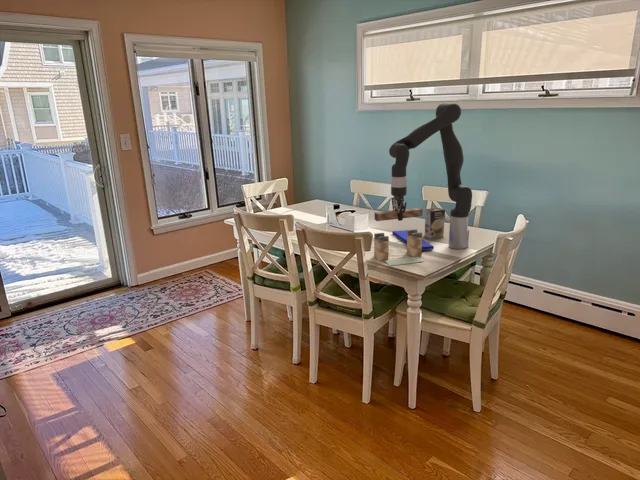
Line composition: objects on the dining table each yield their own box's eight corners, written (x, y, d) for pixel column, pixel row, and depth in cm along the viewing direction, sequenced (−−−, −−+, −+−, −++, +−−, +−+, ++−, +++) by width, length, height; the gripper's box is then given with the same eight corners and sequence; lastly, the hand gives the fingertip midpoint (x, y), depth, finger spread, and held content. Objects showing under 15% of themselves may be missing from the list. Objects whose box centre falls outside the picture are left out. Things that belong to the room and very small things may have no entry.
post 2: (415, 251, 233) (416, 229, 229) (421, 256, 227) (422, 232, 223) (406, 252, 232) (407, 230, 228) (412, 257, 226) (413, 233, 222)
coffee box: (430, 238, 253) (431, 211, 249) (424, 235, 259) (425, 209, 254) (444, 236, 256) (445, 209, 251) (437, 233, 262) (439, 207, 257)
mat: (417, 257, 225) (417, 256, 225) (424, 261, 219) (424, 261, 219) (384, 261, 221) (384, 260, 221) (389, 266, 215) (389, 265, 215)
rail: (419, 214, 225) (419, 207, 224) (422, 216, 222) (422, 209, 221) (374, 219, 220) (374, 212, 219) (377, 221, 217) (377, 214, 216)
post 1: (383, 255, 229) (383, 232, 226) (388, 260, 223) (388, 236, 219) (374, 256, 228) (374, 233, 225) (379, 261, 222) (379, 237, 218)
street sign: (415, 252, 233) (433, 250, 235) (416, 247, 232) (433, 245, 234) (392, 234, 265) (408, 232, 267) (392, 229, 264) (408, 227, 266)
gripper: (412, 187, 210) (411, 222, 216) (400, 182, 224) (399, 215, 229) (397, 188, 209) (397, 223, 214) (386, 183, 222) (386, 216, 227)
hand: (398, 219), depth 221 cm, fingers closed on rail, 3 cm apart
